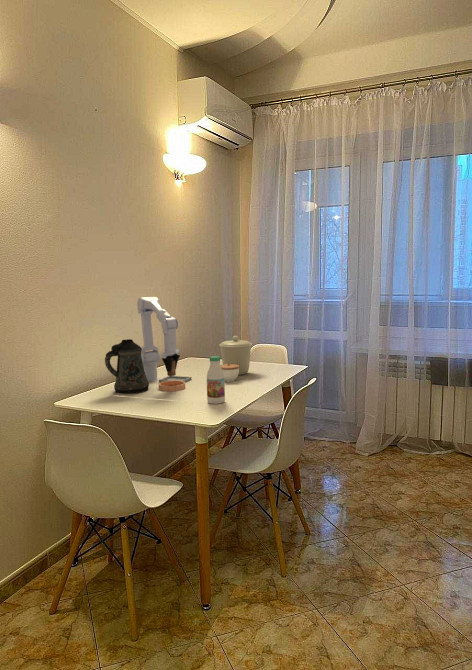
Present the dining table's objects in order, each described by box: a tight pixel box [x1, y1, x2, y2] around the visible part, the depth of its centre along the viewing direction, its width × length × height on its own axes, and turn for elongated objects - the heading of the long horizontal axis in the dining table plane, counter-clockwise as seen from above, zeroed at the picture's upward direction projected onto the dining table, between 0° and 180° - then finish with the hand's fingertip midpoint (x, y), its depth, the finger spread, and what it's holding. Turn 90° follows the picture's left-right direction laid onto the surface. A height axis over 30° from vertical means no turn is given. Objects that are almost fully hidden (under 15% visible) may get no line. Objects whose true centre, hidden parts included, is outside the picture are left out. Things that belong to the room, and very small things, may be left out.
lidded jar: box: [220, 363, 239, 383], centre depth 268 cm, size 11×11×9 cm
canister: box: [218, 335, 253, 376], centre depth 284 cm, size 18×18×21 cm
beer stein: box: [104, 338, 150, 395], centre depth 247 cm, size 16×19×25 cm
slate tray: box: [158, 375, 193, 384], centre depth 267 cm, size 13×11×2 cm
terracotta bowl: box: [158, 381, 186, 392], centre depth 252 cm, size 13×13×3 cm
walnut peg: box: [166, 360, 177, 376], centre depth 251 cm, size 4×4×7 cm
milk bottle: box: [206, 355, 226, 405], centre depth 224 cm, size 8×8×20 cm
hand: (171, 370), depth 251 cm, fingers closed on walnut peg, 4 cm apart
